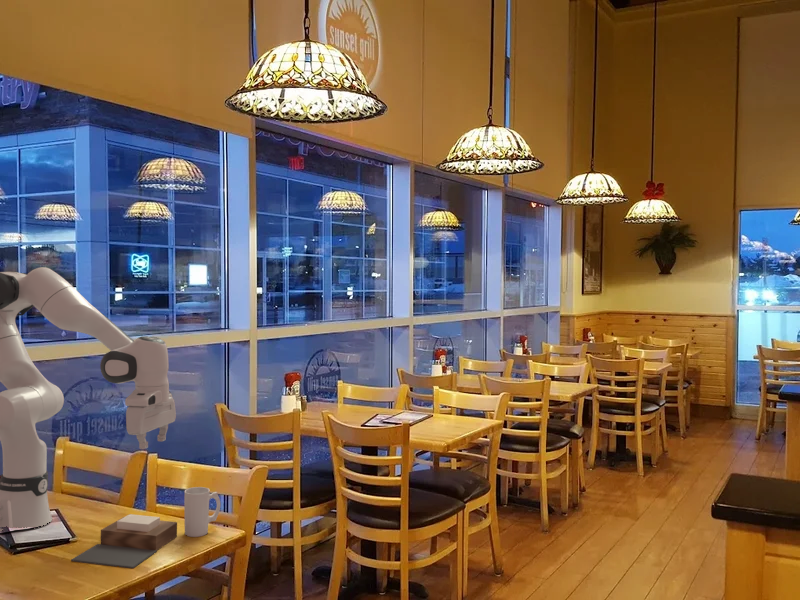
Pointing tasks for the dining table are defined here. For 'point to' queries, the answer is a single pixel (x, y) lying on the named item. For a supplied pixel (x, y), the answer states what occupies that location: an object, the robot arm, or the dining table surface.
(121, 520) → the grey flat block
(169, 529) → the riser board
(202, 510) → the mug
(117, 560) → the bar mat
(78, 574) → the dining table surface
